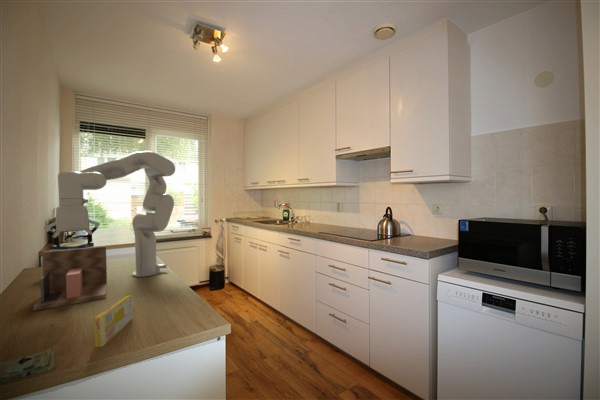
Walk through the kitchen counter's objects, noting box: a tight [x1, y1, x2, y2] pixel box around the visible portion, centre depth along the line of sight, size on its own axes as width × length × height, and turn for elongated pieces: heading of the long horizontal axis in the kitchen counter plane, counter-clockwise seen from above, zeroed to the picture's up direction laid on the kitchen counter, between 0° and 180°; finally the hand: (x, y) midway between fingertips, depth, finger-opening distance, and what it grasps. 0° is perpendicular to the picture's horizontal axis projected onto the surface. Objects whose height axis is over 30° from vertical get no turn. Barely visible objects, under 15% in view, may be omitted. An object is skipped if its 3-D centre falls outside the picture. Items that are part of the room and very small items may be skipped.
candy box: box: [93, 294, 134, 348], centre depth 83 cm, size 16×2×8 cm, turn 5°
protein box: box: [48, 242, 95, 251], centre depth 145 cm, size 10×16×16 cm
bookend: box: [39, 272, 62, 303], centre depth 107 cm, size 4×11×9 cm, turn 33°
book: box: [66, 268, 83, 299], centre depth 111 cm, size 4×10×9 cm, turn 34°
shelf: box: [32, 245, 108, 311], centre depth 111 cm, size 21×18×18 cm
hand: (74, 245), depth 111 cm, fingers open, 9 cm apart
